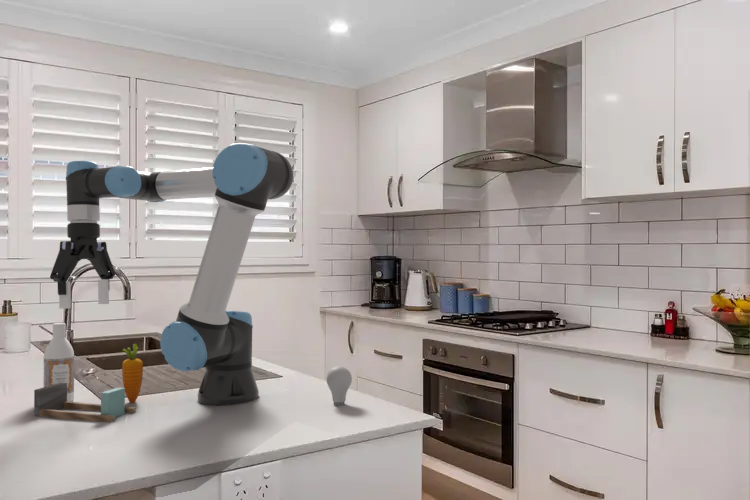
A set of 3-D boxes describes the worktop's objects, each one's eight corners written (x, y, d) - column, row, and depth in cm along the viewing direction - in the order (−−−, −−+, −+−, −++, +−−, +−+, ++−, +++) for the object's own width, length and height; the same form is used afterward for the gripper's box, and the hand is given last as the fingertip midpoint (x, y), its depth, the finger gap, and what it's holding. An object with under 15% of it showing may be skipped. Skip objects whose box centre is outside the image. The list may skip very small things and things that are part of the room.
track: (135, 414, 149) (136, 388, 149) (111, 423, 141) (111, 396, 141) (61, 406, 156) (62, 382, 156) (34, 415, 147) (34, 389, 147)
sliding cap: (124, 413, 149) (124, 388, 149) (108, 419, 143) (108, 393, 143) (117, 412, 149) (117, 387, 149) (100, 418, 144) (101, 392, 144)
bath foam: (45, 406, 156) (45, 325, 156) (41, 401, 161) (42, 322, 161) (75, 403, 159) (76, 324, 159) (71, 397, 165) (72, 321, 165)
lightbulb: (340, 407, 157) (340, 363, 157) (356, 412, 152) (357, 366, 152) (321, 411, 152) (321, 366, 152) (337, 416, 148) (338, 369, 148)
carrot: (130, 407, 155) (130, 346, 155) (117, 404, 158) (117, 344, 158) (147, 403, 160) (147, 344, 160) (134, 400, 162) (134, 342, 162)
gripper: (104, 225, 174) (106, 302, 173) (32, 220, 150) (34, 310, 149) (128, 224, 171) (129, 302, 171) (58, 219, 147) (60, 310, 147)
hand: (85, 306), depth 160 cm, fingers open, 13 cm apart
